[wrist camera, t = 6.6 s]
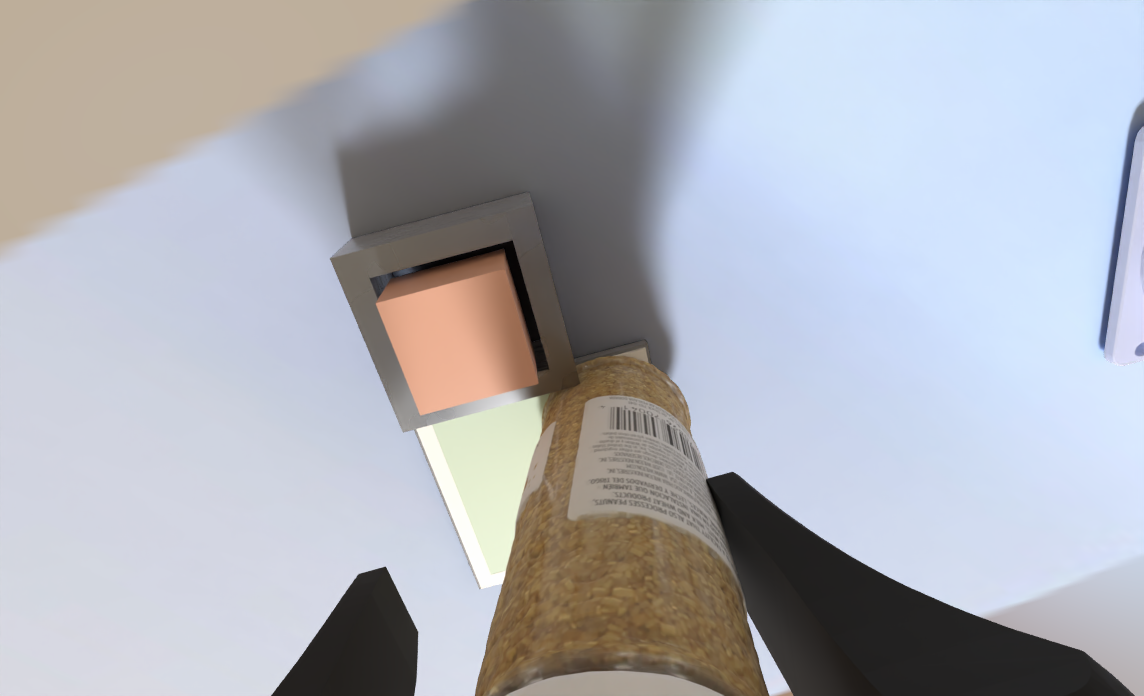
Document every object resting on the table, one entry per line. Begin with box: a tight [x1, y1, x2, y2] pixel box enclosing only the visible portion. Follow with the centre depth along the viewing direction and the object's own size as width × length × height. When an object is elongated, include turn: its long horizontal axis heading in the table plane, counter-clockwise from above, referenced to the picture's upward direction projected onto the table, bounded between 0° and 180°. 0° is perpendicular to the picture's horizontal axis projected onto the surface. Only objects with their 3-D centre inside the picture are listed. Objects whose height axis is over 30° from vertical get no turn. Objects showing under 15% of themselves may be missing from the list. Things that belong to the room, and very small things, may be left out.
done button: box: [376, 249, 539, 415], centre depth 15 cm, size 3×3×2 cm
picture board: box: [414, 340, 651, 589], centre depth 19 cm, size 8×8×1 cm
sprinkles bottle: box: [475, 356, 769, 696], centre depth 12 cm, size 5×5×14 cm
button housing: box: [330, 192, 580, 432], centre depth 16 cm, size 5×5×2 cm
